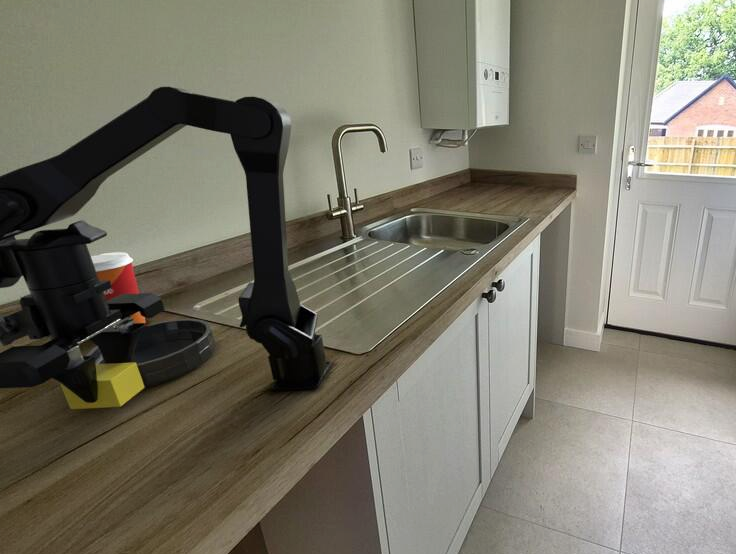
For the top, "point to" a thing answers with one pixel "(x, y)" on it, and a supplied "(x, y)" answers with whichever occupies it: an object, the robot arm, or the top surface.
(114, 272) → the paper cup
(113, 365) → the sponge
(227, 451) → the top surface
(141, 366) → the pan
